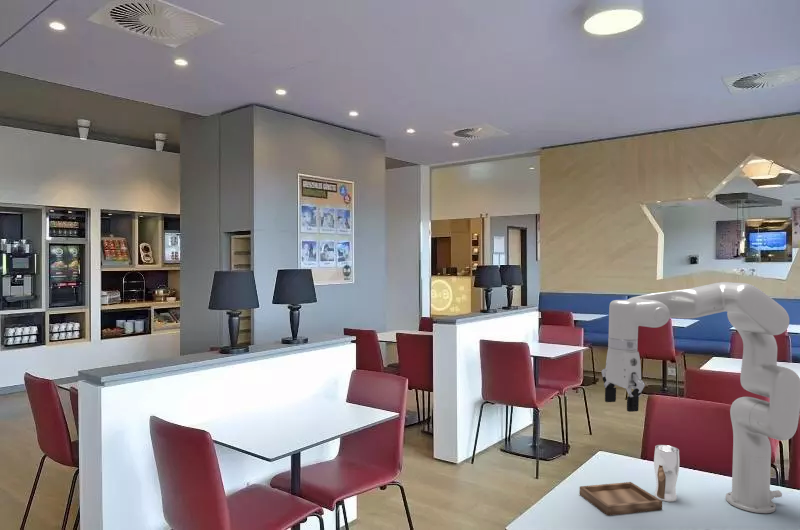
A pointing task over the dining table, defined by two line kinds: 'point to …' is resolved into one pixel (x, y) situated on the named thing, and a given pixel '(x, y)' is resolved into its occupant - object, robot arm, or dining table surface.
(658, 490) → the beer glass
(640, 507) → the walnut tray
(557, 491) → the dining table surface
